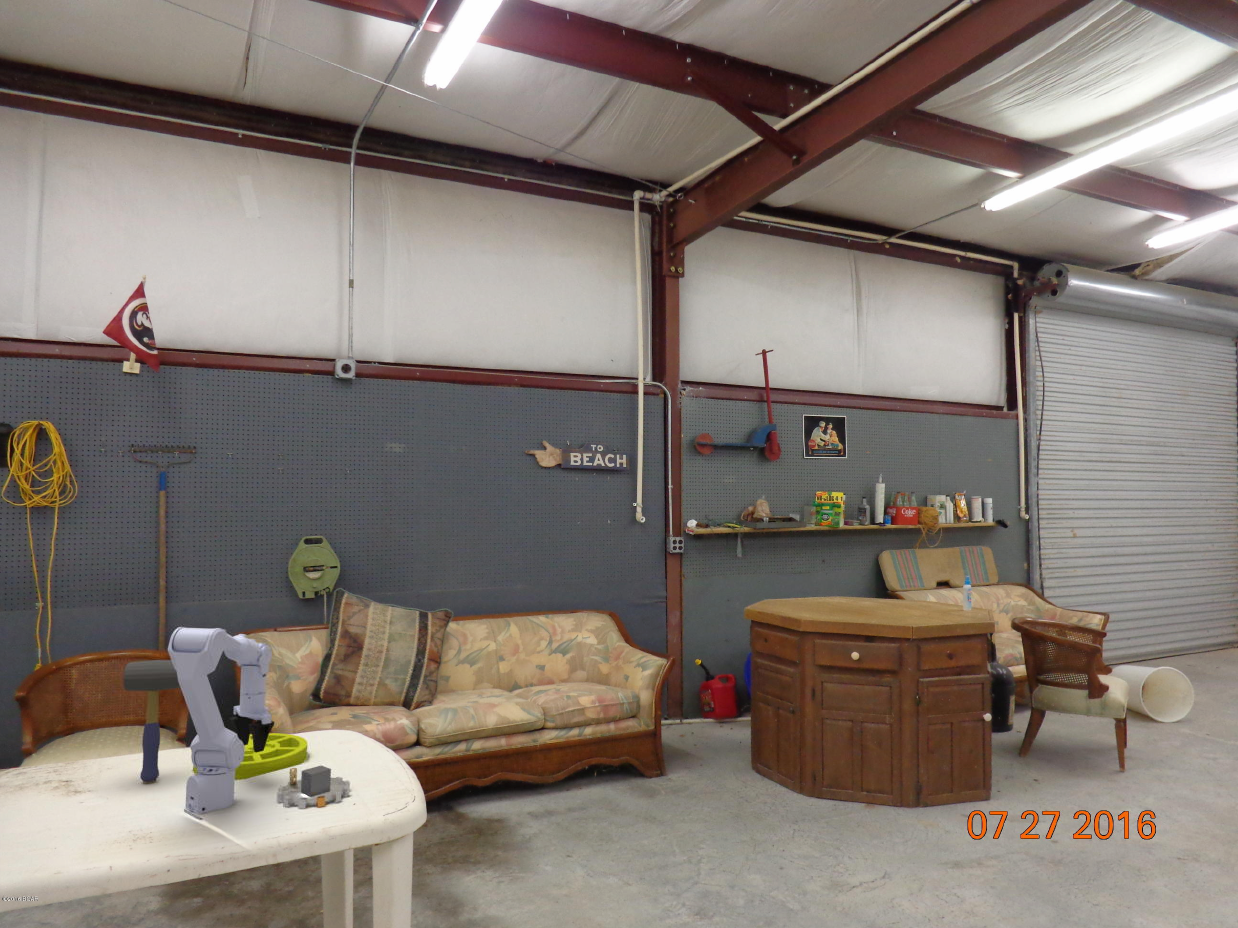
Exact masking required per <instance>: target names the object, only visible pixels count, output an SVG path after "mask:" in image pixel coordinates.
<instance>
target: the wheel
mask: <svg viewBox="0 0 1238 928" xmlns="http://www.w3.org/2000/svg"><path fill="white" fill-rule="evenodd" d="M297 778H298V768H296V767H290V769H289V780H288V781H287V784H286V785H280V786H279V787H278V788H277V792H276V803H277V804H281V803H282V806H283V807H285V808H290V807H297V808H298V809H299V810H300V809H301V810H302V809H303V810H306V809H307V808H310V807H317V808H323V807H326V805H329V804H331V803H333V804H338V803H340V802H342V799H343V798H348V797H349V795H350V789H351V786H350V785H351V782H350V781H349V780H343V779H344V777H341V776H336V777H332V776H331V784H330V791H328V792H325V793H322V794H318V795H315V796H312V797H310V796H307V795H305V794H303V793H301V779H299V780H298V779H297Z"/></svg>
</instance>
